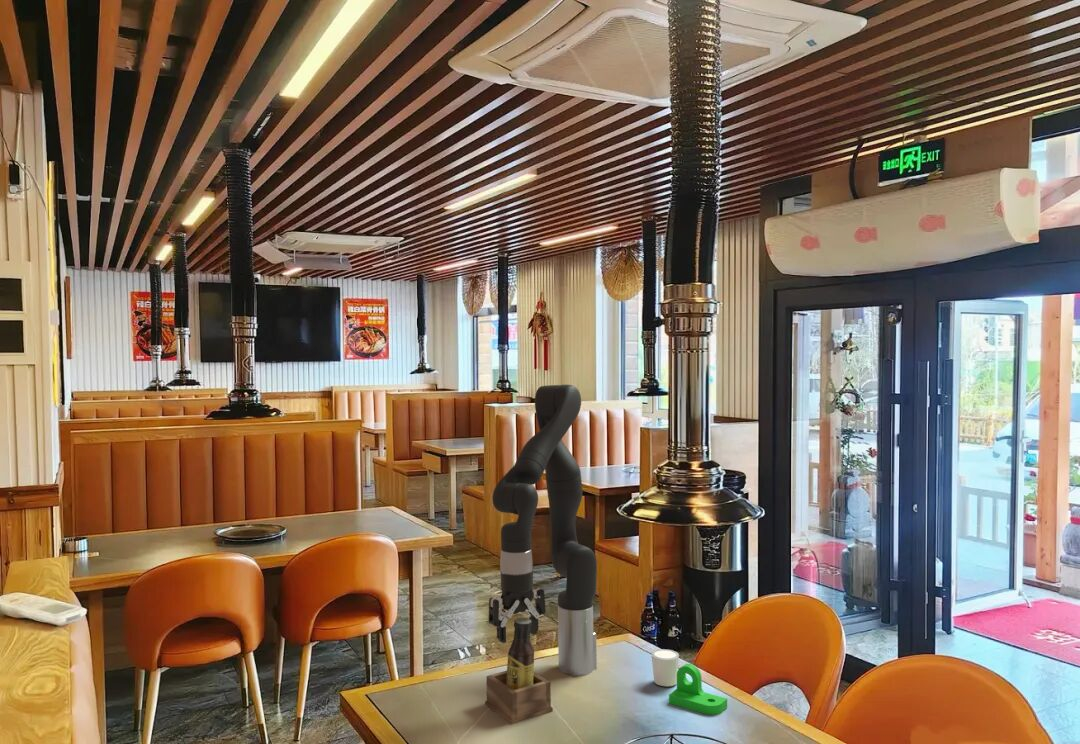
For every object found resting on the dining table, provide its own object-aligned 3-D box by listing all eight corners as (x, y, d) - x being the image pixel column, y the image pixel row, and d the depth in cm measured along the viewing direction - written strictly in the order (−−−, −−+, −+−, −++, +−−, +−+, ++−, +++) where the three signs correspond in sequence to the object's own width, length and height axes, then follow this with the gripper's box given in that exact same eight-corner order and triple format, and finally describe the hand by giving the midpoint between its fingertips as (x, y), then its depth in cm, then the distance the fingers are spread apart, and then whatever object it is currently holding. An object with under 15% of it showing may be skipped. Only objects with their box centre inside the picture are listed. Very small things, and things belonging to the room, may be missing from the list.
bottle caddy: (524, 693, 189) (523, 664, 189) (552, 712, 179) (552, 682, 179) (485, 705, 183) (484, 676, 183) (512, 725, 173) (511, 694, 173)
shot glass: (662, 673, 200) (662, 646, 200) (684, 681, 195) (684, 653, 195) (646, 681, 195) (645, 654, 195) (668, 690, 190) (668, 661, 190)
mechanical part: (669, 703, 184) (668, 669, 184) (680, 693, 189) (680, 661, 188) (716, 717, 177) (716, 682, 176) (727, 707, 181) (727, 673, 181)
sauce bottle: (501, 700, 183) (503, 616, 182) (525, 696, 185) (528, 613, 185) (512, 712, 177) (514, 625, 176) (537, 707, 180) (539, 622, 179)
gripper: (533, 559, 187) (534, 626, 188) (481, 570, 179) (483, 639, 180) (551, 566, 181) (552, 635, 182) (498, 577, 173) (500, 649, 174)
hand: (517, 637), depth 181 cm, fingers open, 8 cm apart
